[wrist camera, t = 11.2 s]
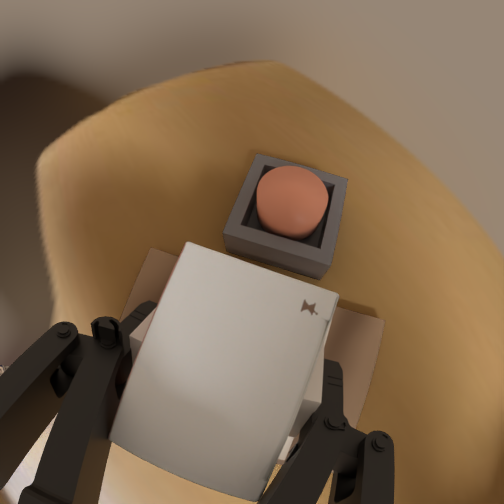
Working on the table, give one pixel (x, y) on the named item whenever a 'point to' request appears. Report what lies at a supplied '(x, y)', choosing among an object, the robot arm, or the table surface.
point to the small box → (222, 371)
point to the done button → (291, 202)
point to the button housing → (278, 248)
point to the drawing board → (335, 344)
